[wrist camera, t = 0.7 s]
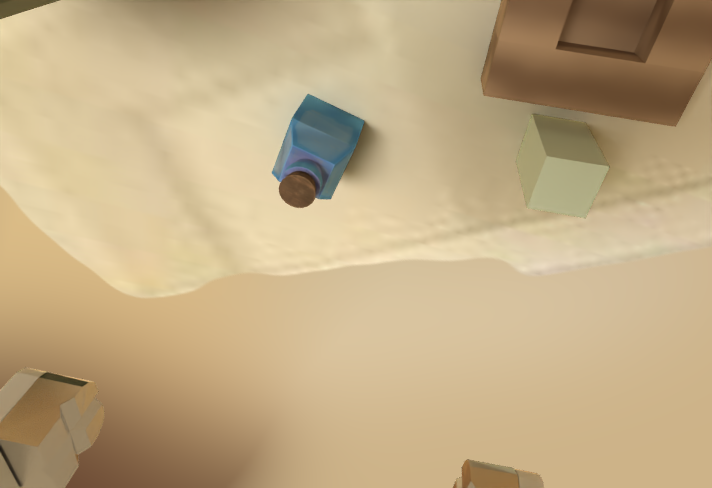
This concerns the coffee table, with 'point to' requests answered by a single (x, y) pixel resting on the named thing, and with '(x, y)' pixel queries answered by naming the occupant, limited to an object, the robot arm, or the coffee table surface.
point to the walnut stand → (601, 55)
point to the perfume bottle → (315, 152)
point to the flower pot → (20, 6)
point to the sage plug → (560, 166)
